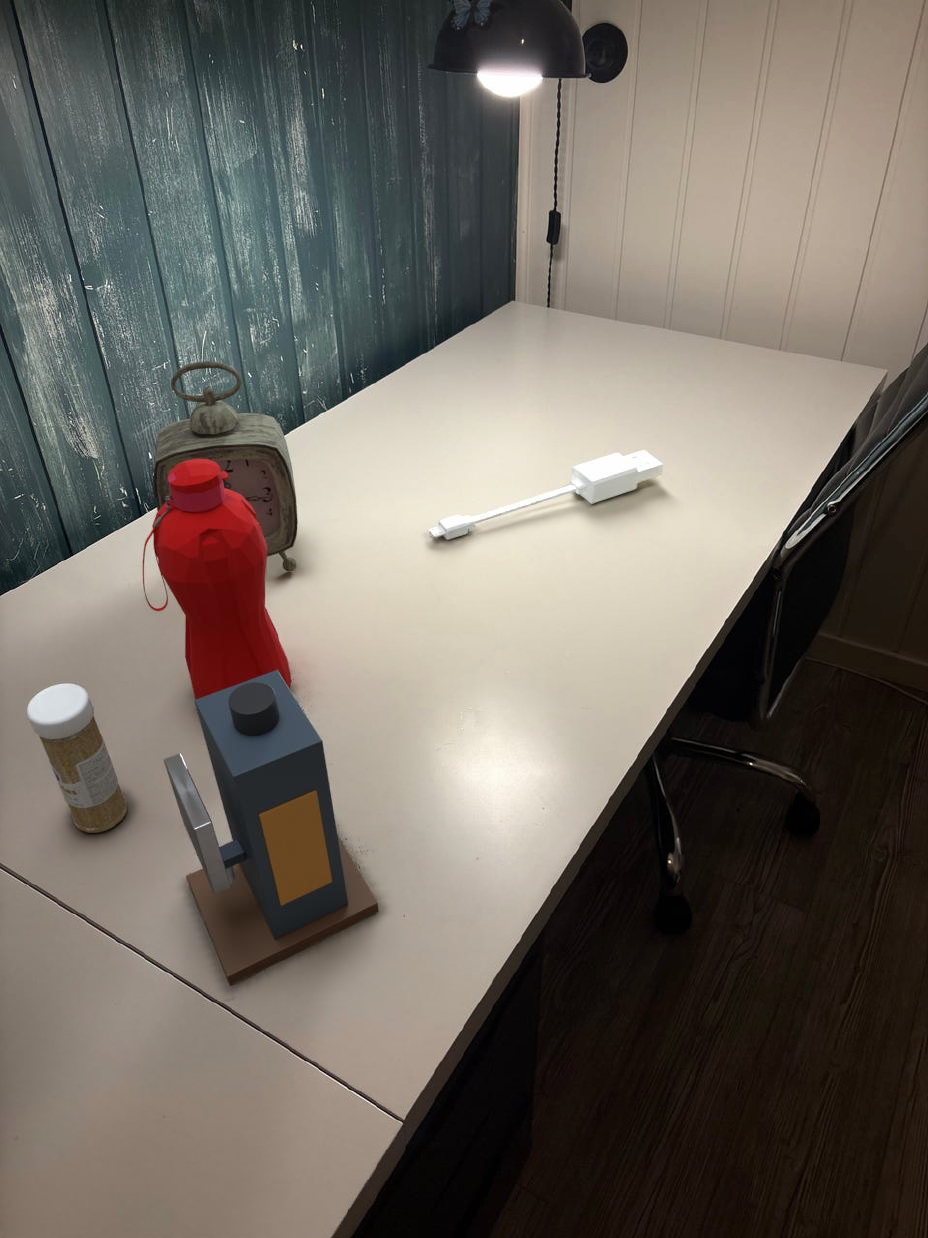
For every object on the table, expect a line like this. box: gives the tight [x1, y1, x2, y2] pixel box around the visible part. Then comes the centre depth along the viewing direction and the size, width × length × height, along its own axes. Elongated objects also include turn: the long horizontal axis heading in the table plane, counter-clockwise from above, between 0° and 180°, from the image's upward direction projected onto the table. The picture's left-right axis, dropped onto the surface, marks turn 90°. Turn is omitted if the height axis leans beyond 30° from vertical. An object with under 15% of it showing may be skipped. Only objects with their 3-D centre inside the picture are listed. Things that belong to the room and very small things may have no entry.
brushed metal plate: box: [163, 753, 231, 894], centre depth 63 cm, size 1×7×7 cm, turn 30°
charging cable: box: [427, 449, 664, 541], centre depth 116 cm, size 5×32×3 cm, turn 117°
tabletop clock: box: [152, 360, 299, 573], centre depth 100 cm, size 14×9×25 cm, turn 102°
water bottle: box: [142, 459, 293, 701], centre depth 83 cm, size 9×11×25 cm
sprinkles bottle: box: [26, 683, 128, 834], centre depth 75 cm, size 5×5×13 cm
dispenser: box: [185, 670, 380, 986], centre depth 65 cm, size 12×10×21 cm
